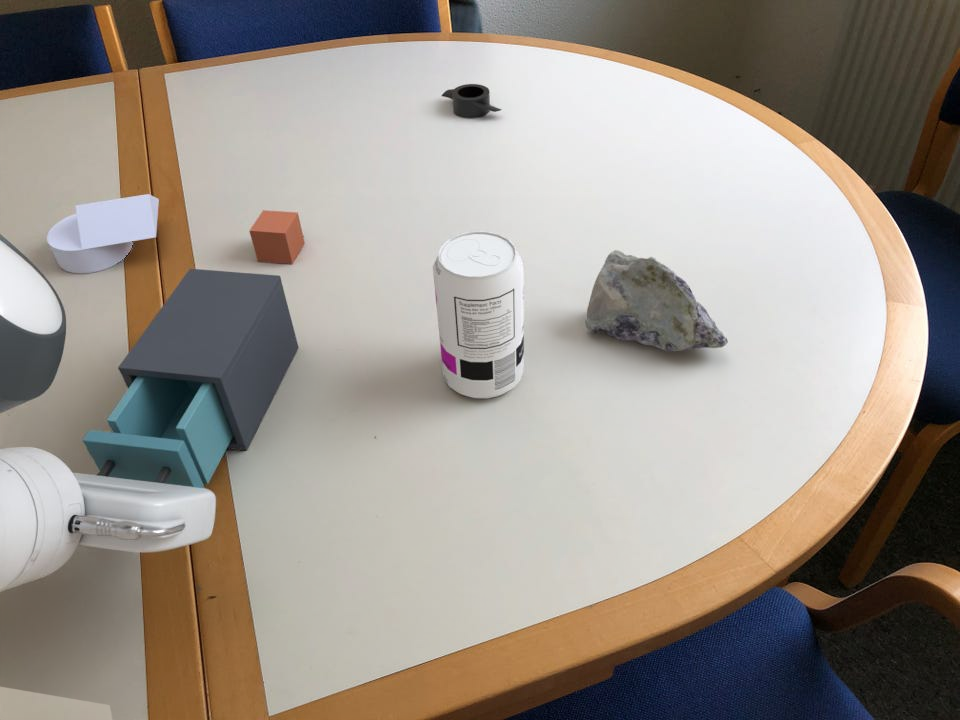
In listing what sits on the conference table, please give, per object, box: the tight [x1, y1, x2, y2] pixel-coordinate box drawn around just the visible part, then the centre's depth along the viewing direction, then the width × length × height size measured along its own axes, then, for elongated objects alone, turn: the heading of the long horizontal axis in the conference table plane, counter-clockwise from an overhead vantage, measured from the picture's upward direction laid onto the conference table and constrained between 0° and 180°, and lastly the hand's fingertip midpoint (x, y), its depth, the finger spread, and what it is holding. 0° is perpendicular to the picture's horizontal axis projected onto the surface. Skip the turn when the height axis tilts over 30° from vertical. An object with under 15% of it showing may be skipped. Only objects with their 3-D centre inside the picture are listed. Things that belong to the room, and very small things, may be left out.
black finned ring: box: [441, 83, 503, 119], centre depth 124 cm, size 8×10×3 cm
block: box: [248, 209, 306, 265], centre depth 96 cm, size 4×4×4 cm
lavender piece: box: [46, 193, 160, 274], centre depth 97 cm, size 9×7×13 cm
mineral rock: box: [585, 249, 729, 352], centre depth 80 cm, size 13×11×10 cm
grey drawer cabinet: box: [117, 268, 299, 451], centre depth 77 cm, size 15×10×10 cm, turn 170°
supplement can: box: [432, 230, 525, 400], centre depth 76 cm, size 8×8×15 cm
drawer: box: [82, 376, 234, 489], centre depth 70 cm, size 18×8×8 cm, turn 170°
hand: (131, 490), depth 65 cm, fingers closed on drawer, 6 cm apart
